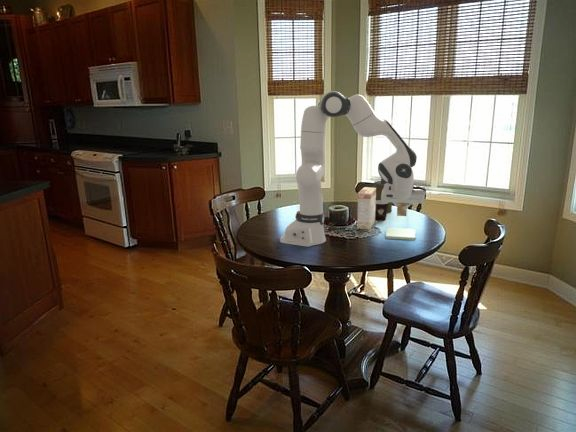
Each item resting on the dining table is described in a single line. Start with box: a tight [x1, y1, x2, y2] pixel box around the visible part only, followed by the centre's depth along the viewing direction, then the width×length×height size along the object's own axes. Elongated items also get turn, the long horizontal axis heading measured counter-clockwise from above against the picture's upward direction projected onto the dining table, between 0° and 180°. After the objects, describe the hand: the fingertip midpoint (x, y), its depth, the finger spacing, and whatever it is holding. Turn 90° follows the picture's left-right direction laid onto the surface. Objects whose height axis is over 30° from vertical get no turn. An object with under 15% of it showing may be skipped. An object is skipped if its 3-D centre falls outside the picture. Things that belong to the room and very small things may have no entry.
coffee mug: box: [375, 200, 388, 222], centre depth 238 cm, size 12×9×10 cm
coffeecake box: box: [356, 186, 376, 231], centre depth 226 cm, size 15×7×20 cm, turn 157°
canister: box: [373, 178, 393, 214], centre depth 253 cm, size 11×10×20 cm
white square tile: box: [384, 227, 416, 241], centre depth 212 cm, size 14×14×1 cm
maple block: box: [396, 203, 408, 217], centre depth 208 cm, size 4×4×9 cm
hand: (402, 204), depth 208 cm, fingers closed on maple block, 4 cm apart
